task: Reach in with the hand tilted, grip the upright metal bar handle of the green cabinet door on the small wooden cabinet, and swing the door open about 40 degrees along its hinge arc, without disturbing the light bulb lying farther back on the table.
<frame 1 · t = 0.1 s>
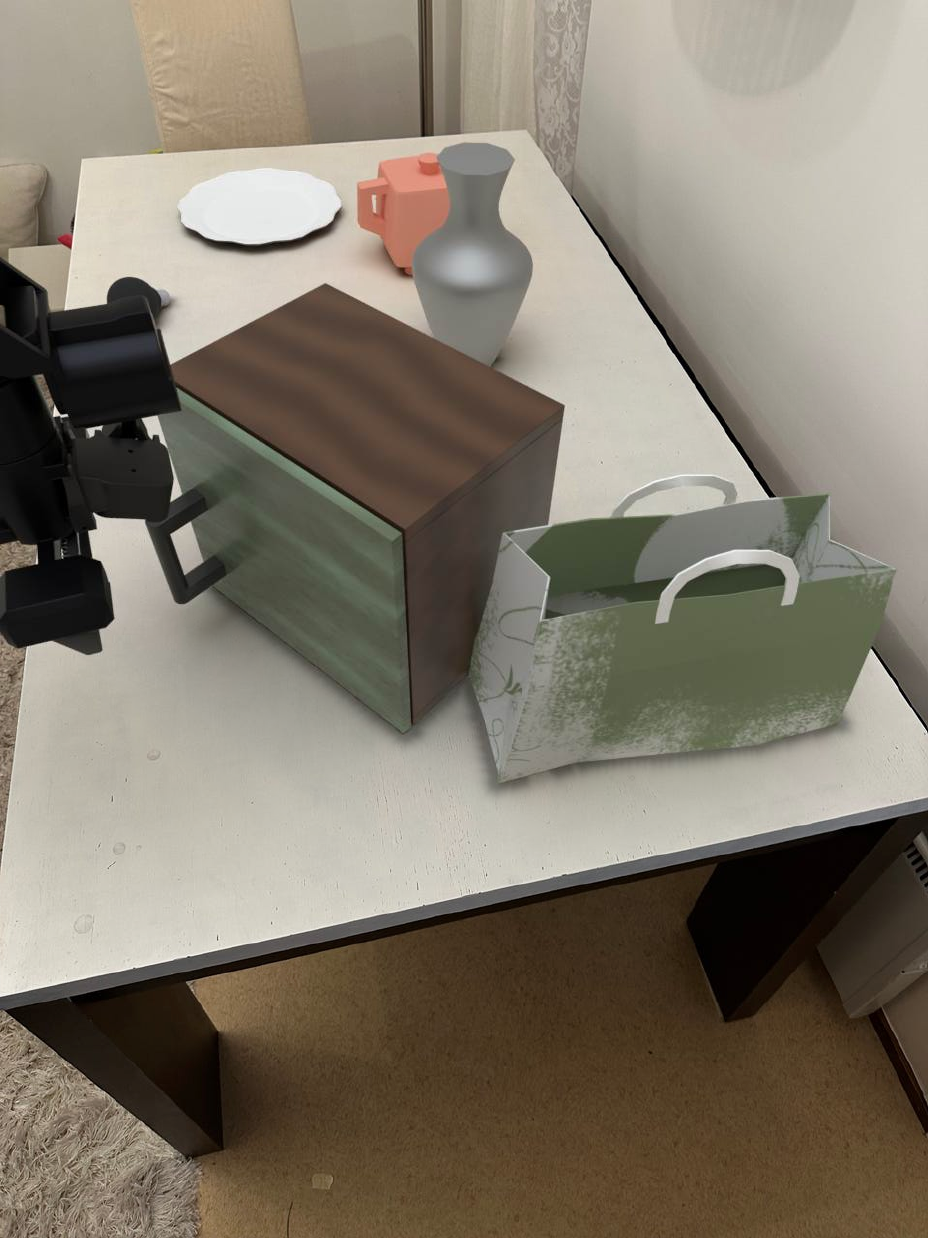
hand: (90, 604, 62), 16 cm above the table, tool pointing down, fingers open, 9 cm apart
teapot: (433, 256, 127), on the table
light bulb: (144, 321, 114), on the table
plate: (262, 216, 134), on the table
wooden cabinet: (377, 593, 84), on the table
grocery bag: (645, 698, 78), on the table, touching wooden cabinet
green cabinet door: (262, 581, 69), point 12 cm above the table, hinge at 0.0°
vase: (469, 360, 110), on the table
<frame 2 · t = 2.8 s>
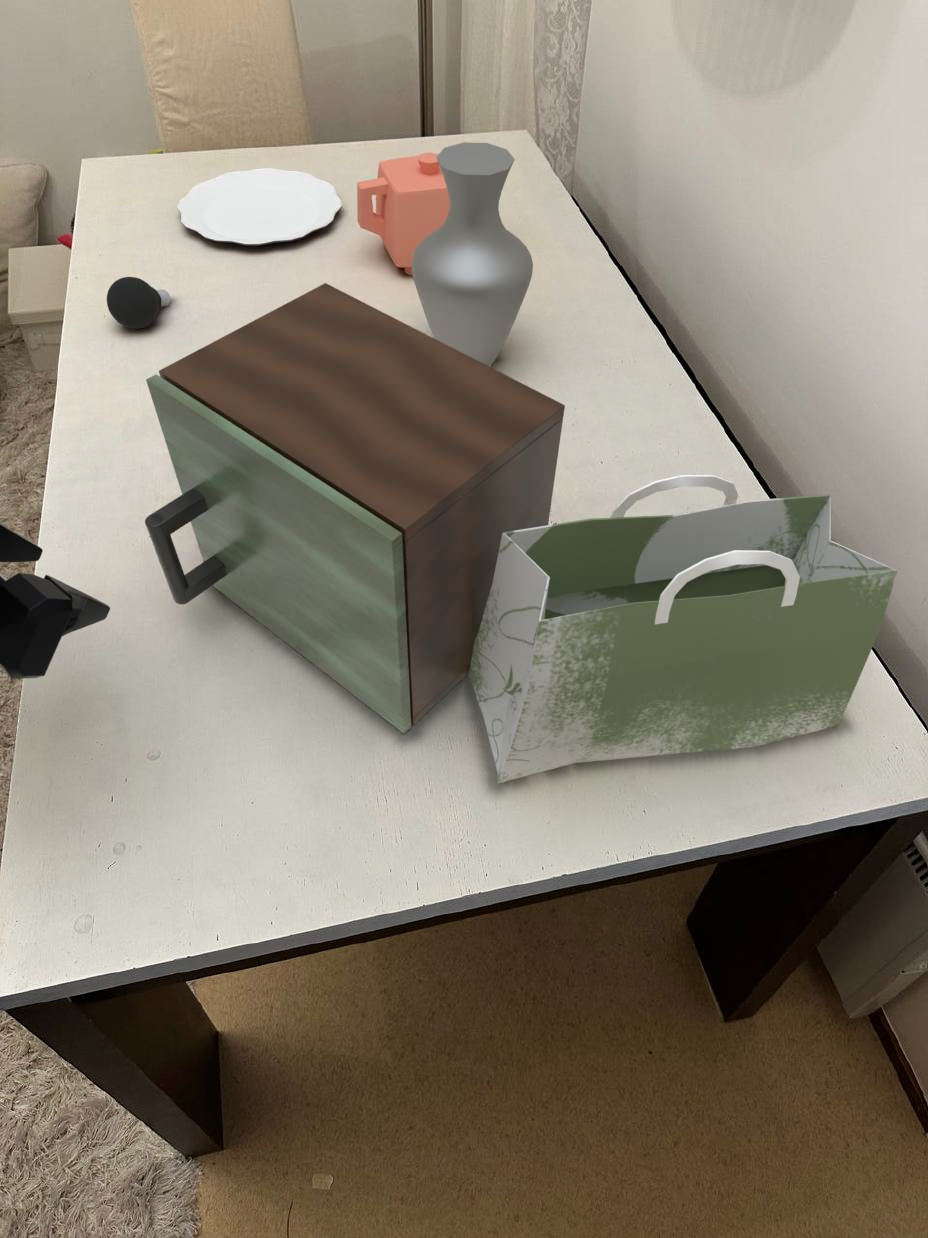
hand: (72, 582, 67), 13 cm above the table, tool tilted 45°, fingers open, 9 cm apart
nothing on the table moved.
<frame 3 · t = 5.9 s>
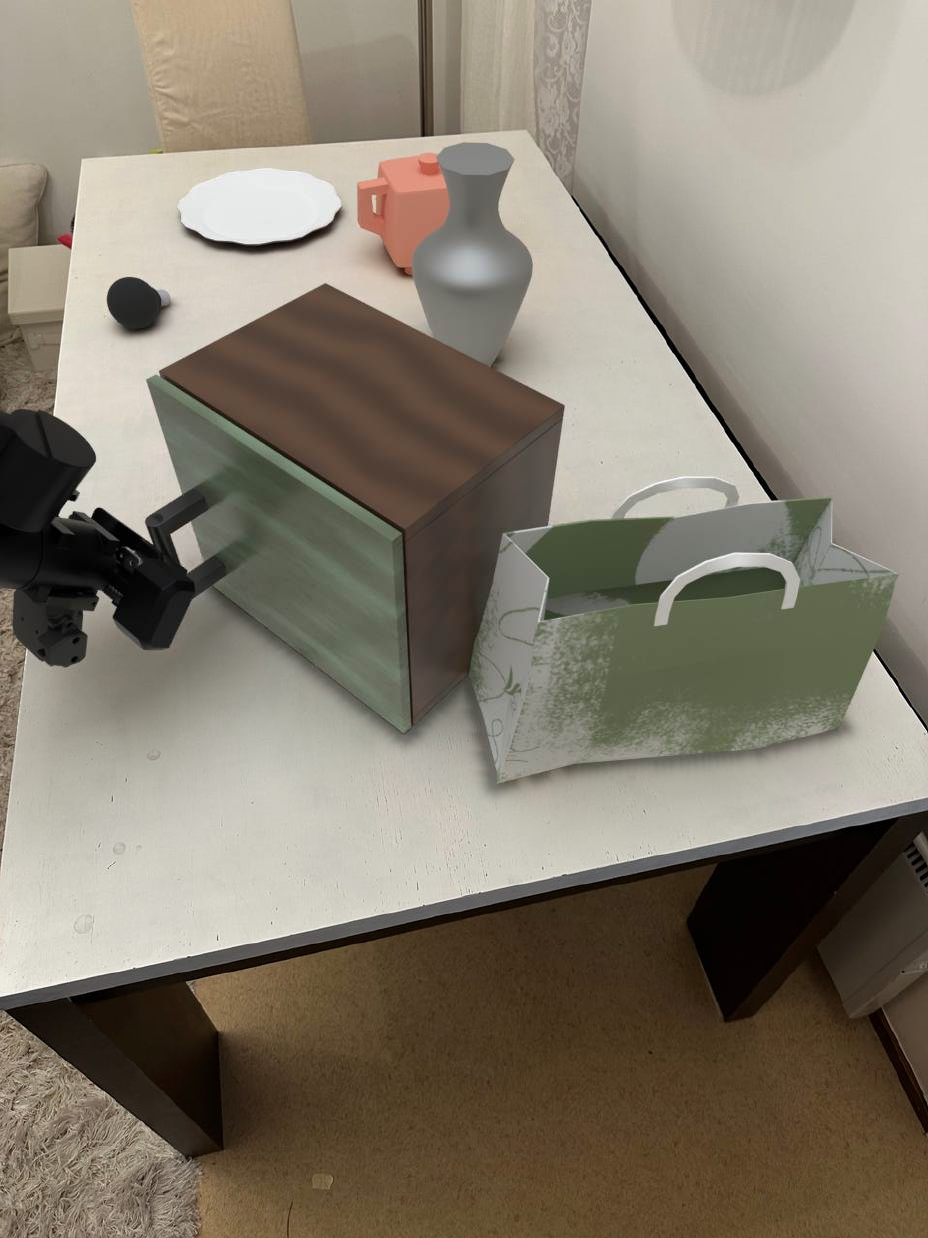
hand: (177, 569, 75), 8 cm above the table, tool tilted 45°, fingers closed on green cabinet door, 2 cm apart
green cabinet door: (262, 581, 69), point 12 cm above the table, hinge at 0.0°, touching gripper
everything else where it was.
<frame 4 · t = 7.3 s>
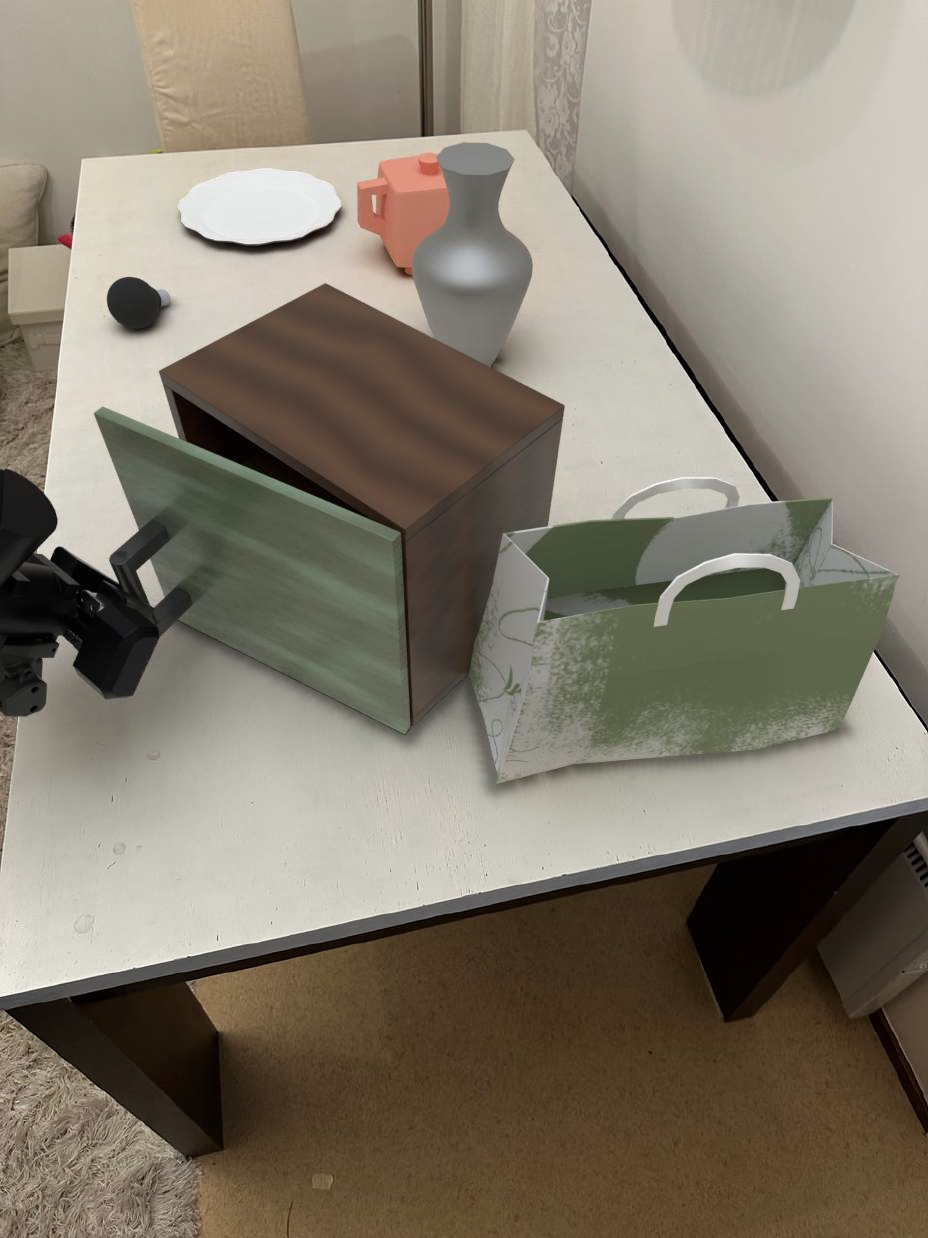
hand: (144, 607, 72), 8 cm above the table, tool tilted 45°, fingers closed on green cabinet door, 2 cm apart
green cabinet door: (244, 604, 67), point 12 cm above the table, hinge at 11.2°, touching gripper
everything else where it was.
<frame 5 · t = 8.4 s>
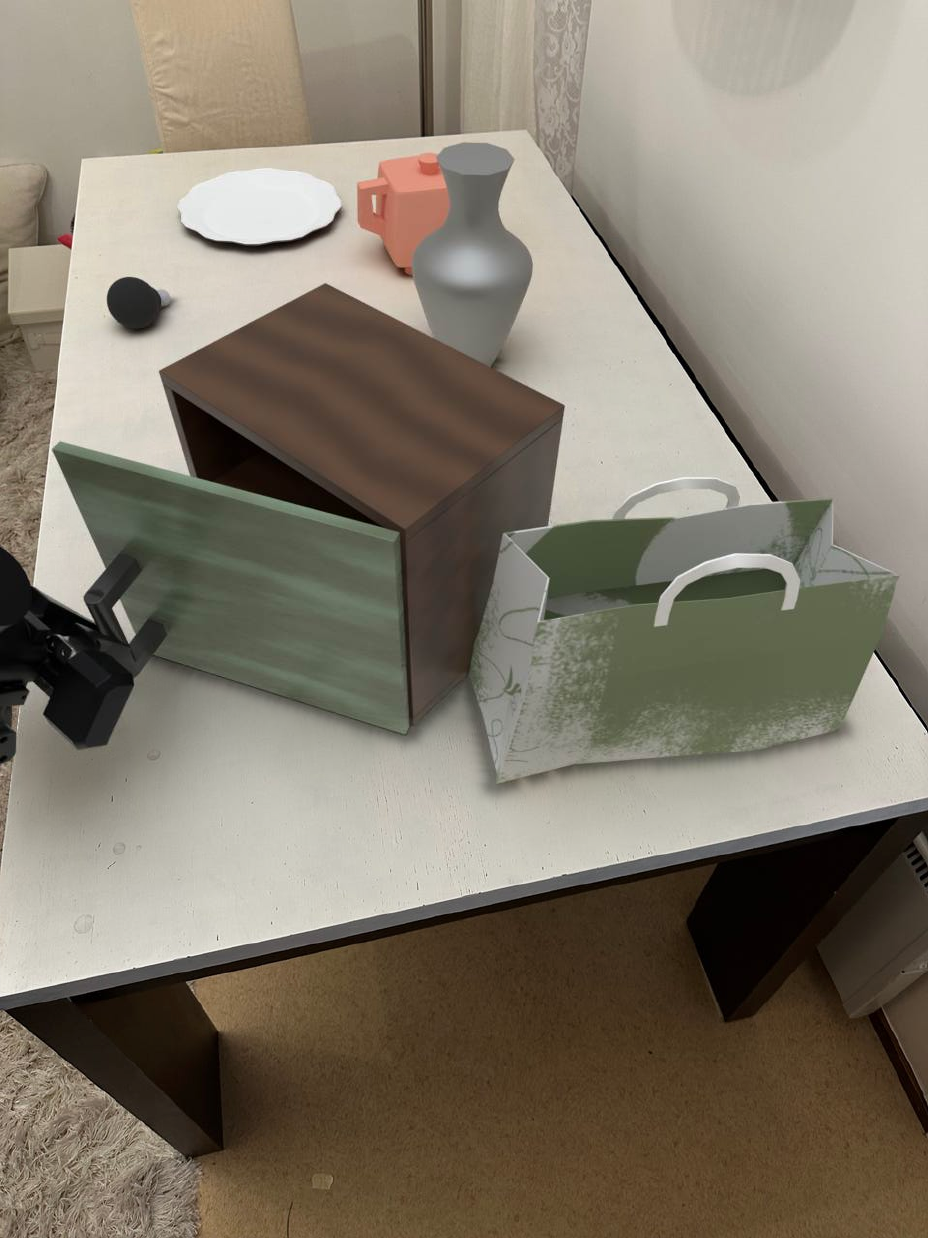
hand: (120, 645, 70), 8 cm above the table, tool tilted 45°, fingers closed on green cabinet door, 2 cm apart
green cabinet door: (233, 626, 66), point 12 cm above the table, hinge at 21.2°, touching gripper
everything else where it was.
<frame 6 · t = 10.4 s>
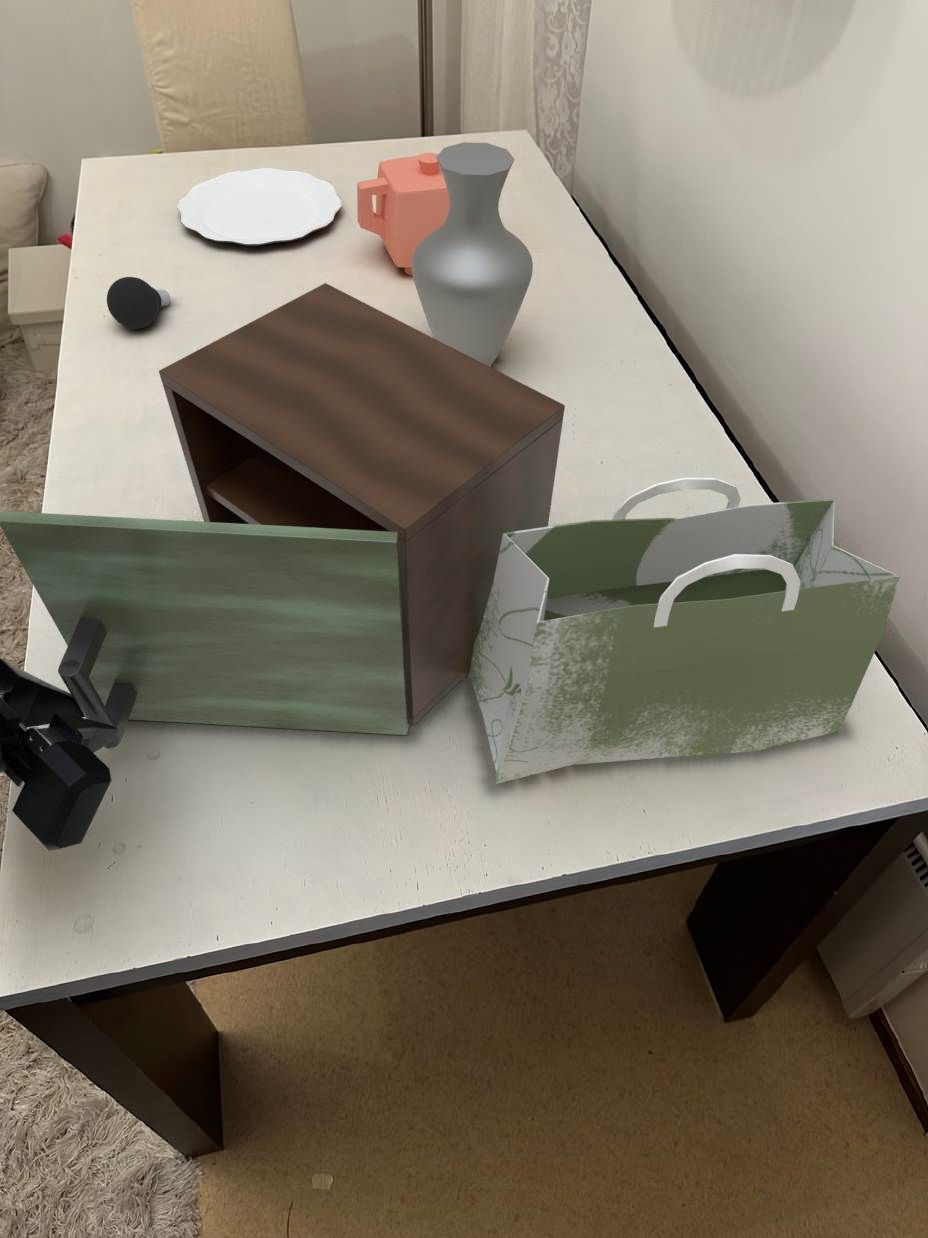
hand: (102, 721, 65), 8 cm above the table, tool tilted 45°, fingers open, 3 cm apart
green cabinet door: (224, 666, 63), point 12 cm above the table, hinge at 37.4°, touching gripper
everything else where it was.
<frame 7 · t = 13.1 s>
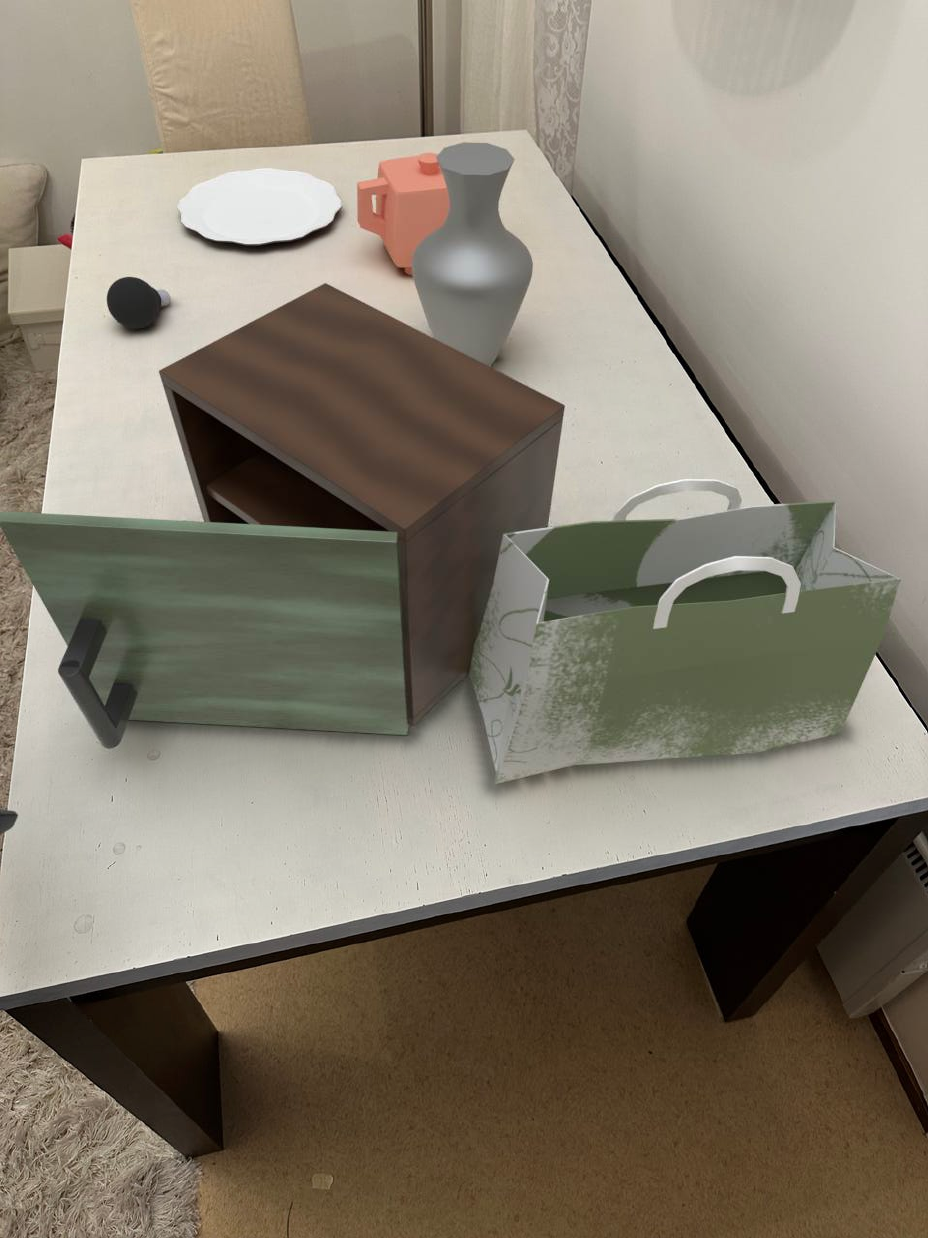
green cabinet door: (224, 666, 63), point 12 cm above the table, hinge at 37.5°
everything else where it was.
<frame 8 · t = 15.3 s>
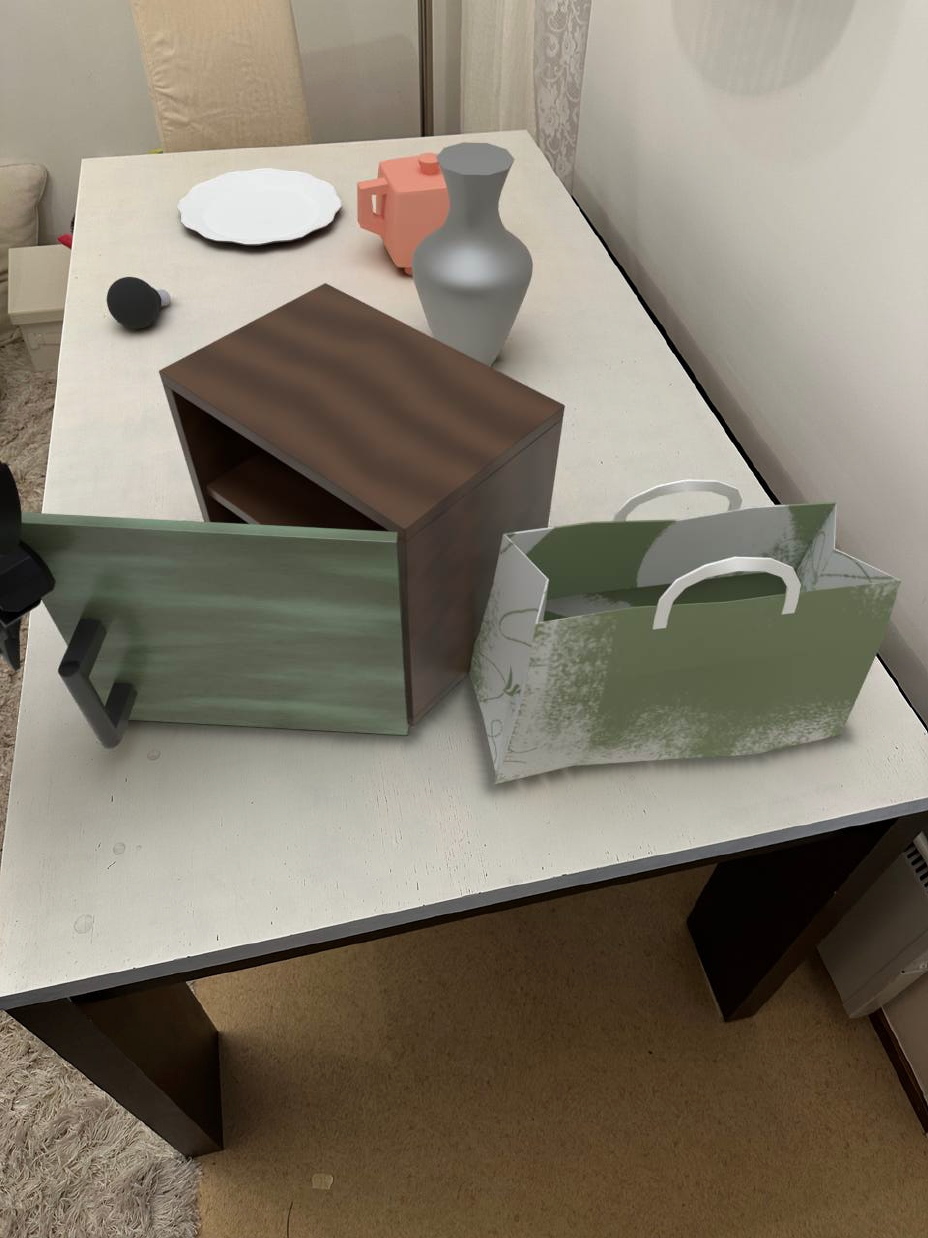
nothing on the table moved.
at the end: green cabinet door at +38° (first picture: +0°); the gripper is holding nothing; light bulb moved 0.2 cm from its start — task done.
